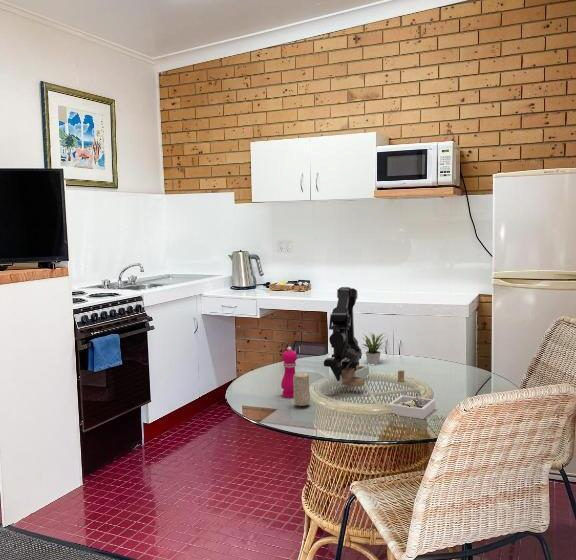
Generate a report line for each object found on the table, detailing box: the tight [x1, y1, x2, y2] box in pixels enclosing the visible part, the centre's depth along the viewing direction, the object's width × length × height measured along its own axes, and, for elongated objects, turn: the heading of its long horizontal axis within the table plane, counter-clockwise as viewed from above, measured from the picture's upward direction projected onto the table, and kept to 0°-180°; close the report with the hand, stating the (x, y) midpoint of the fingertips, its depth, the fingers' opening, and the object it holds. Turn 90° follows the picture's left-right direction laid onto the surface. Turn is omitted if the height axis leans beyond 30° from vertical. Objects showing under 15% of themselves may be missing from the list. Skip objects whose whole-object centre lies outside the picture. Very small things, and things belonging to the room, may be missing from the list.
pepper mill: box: [280, 346, 298, 399], centre depth 247 cm, size 7×7×20 cm
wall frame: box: [356, 365, 405, 383], centre depth 267 cm, size 22×2×6 cm, turn 58°
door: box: [355, 365, 370, 380], centre depth 264 cm, size 14×1×6 cm, turn 146°
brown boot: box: [341, 368, 366, 388], centre depth 249 cm, size 8×4×6 cm, turn 57°
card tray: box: [387, 394, 436, 420], centre depth 224 cm, size 13×13×4 cm
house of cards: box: [412, 390, 426, 408], centre depth 226 cm, size 9×9×8 cm
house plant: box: [361, 332, 387, 365], centre depth 296 cm, size 14×14×16 cm
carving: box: [293, 372, 311, 407], centre depth 234 cm, size 6×8×12 cm
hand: (340, 379), depth 252 cm, fingers closed on brown boot, 4 cm apart
